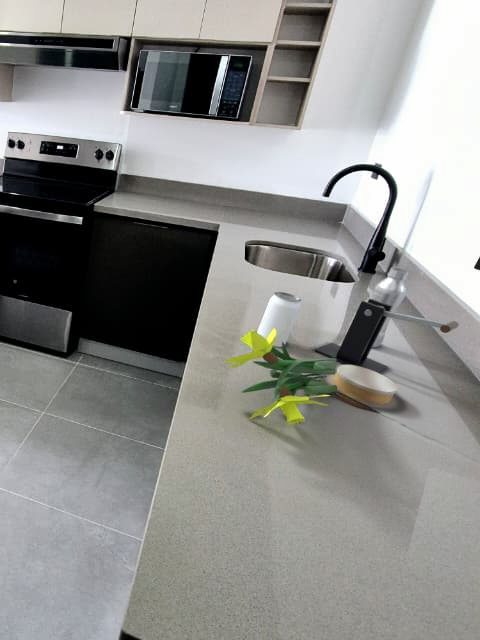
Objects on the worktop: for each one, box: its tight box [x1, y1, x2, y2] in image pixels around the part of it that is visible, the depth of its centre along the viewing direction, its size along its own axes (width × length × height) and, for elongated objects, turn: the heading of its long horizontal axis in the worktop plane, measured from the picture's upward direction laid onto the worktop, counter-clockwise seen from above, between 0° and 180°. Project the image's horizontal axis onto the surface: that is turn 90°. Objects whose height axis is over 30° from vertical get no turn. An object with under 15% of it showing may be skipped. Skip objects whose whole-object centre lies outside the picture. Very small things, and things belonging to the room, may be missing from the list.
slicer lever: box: [377, 305, 459, 334], centre depth 105 cm, size 15×6×2 cm, turn 35°
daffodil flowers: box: [222, 318, 338, 426], centre depth 89 cm, size 17×15×35 cm
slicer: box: [314, 298, 392, 374], centre depth 112 cm, size 12×9×15 cm
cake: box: [330, 364, 398, 414], centre depth 101 cm, size 14×14×4 cm
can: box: [256, 291, 302, 348], centre depth 117 cm, size 6×6×12 cm
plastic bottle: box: [370, 266, 410, 349], centre depth 122 cm, size 6×7×20 cm
